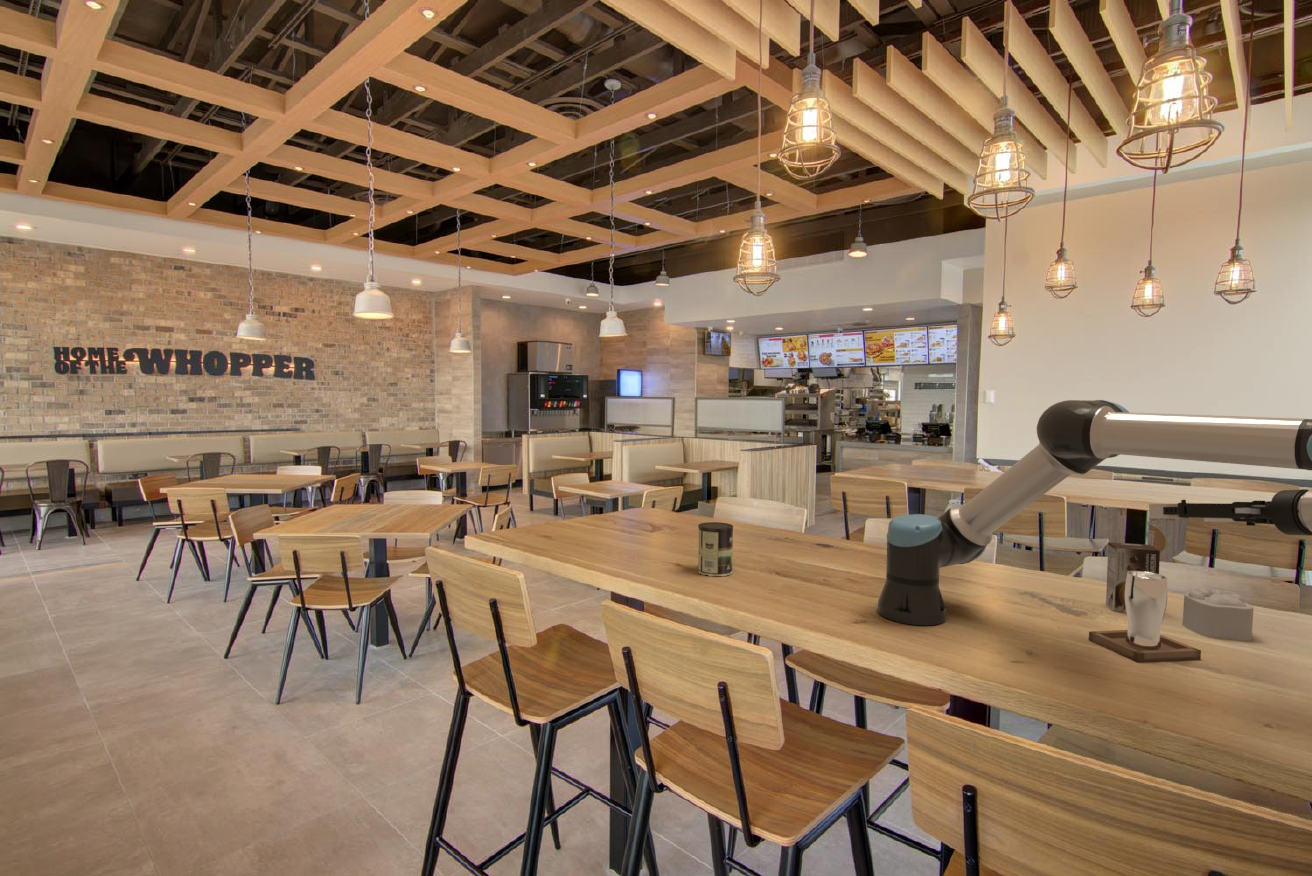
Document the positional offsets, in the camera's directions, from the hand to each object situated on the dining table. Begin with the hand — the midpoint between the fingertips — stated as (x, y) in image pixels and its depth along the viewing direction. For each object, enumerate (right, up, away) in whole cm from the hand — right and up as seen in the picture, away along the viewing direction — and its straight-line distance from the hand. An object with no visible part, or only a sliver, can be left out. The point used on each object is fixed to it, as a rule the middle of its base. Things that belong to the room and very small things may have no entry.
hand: (1178, 513), depth 124 cm
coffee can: (-85, -25, +63) cm, 109 cm away
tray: (-1, -29, +7) cm, 30 cm away
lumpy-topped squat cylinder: (+24, -29, +20) cm, 43 cm away
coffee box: (+15, -28, +33) cm, 46 cm away
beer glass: (-1, -29, +7) cm, 30 cm away
